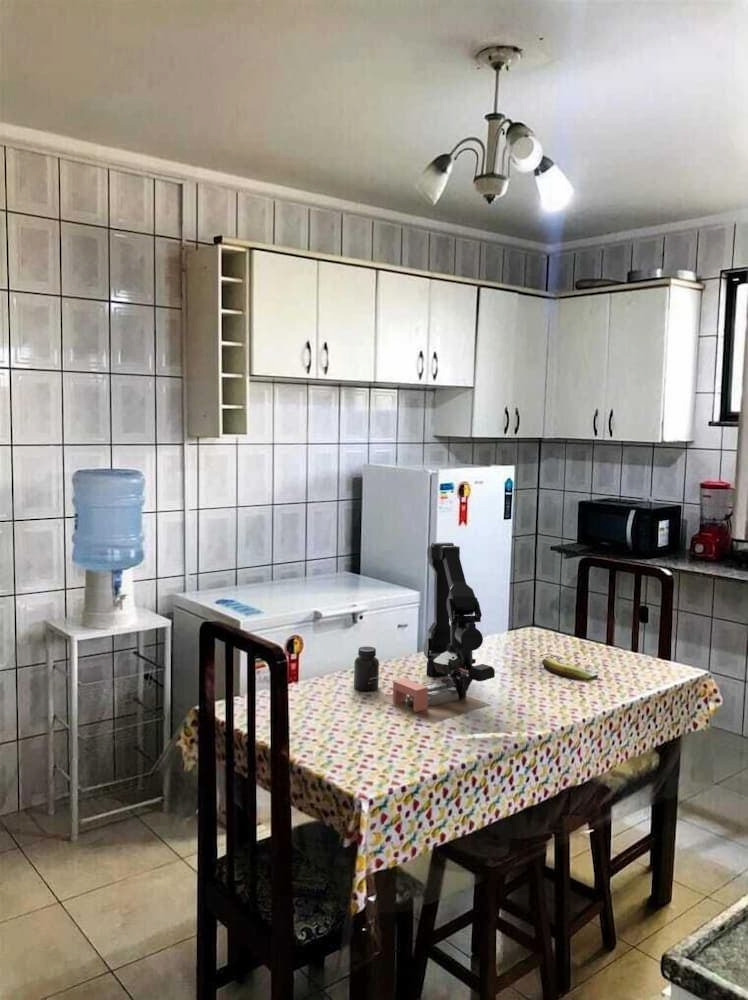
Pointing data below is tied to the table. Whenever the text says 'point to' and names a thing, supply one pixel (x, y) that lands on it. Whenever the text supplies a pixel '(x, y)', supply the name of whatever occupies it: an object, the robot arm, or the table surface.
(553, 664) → the green-yellow banana
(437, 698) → the tongs jaw
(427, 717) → the board
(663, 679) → the table surface
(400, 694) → the pink u-shaped block
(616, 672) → the table surface
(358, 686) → the supplement bottle
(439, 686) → the tongs fixed
